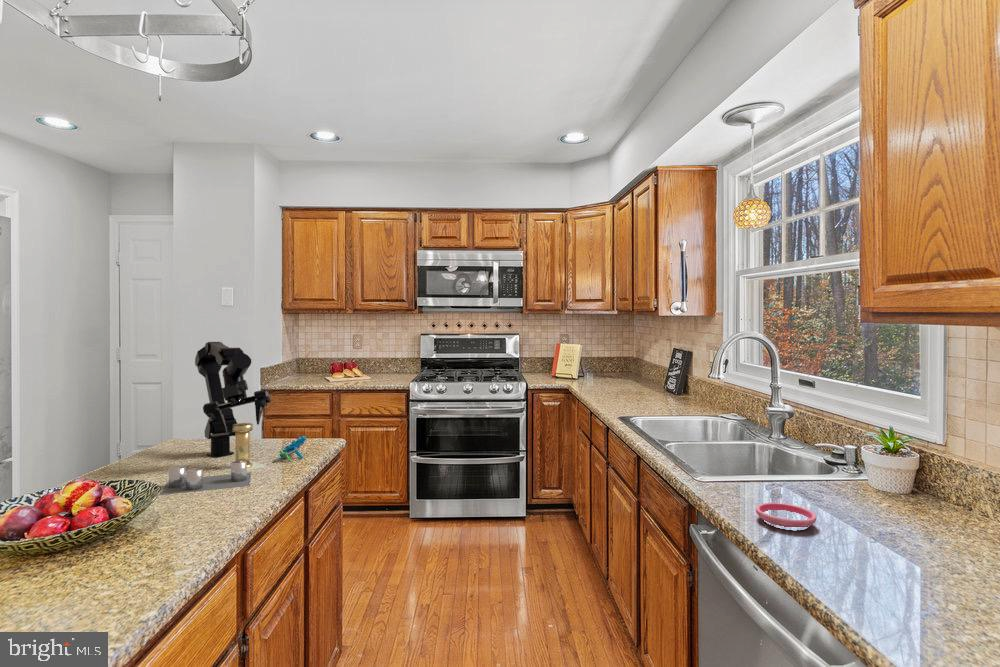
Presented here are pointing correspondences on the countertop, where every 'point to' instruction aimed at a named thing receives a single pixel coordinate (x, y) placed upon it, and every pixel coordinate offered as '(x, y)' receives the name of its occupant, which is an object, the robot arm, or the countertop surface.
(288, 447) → the blue and green figurine
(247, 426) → the brass post
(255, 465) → the pad
